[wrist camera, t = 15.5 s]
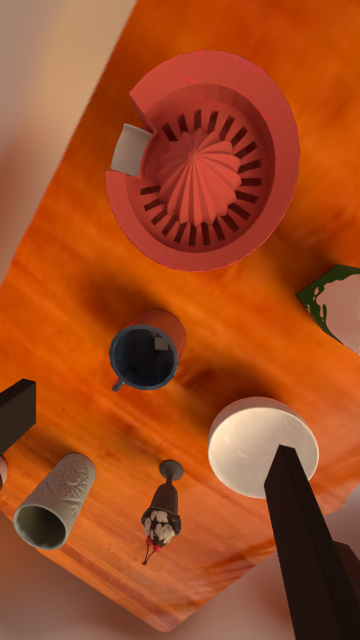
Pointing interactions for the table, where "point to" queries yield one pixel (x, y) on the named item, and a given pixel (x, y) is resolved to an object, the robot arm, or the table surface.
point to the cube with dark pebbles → (161, 343)
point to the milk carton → (336, 304)
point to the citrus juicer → (204, 162)
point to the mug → (147, 351)
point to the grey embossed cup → (55, 503)
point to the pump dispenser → (3, 472)
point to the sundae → (163, 510)
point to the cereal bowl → (257, 442)
